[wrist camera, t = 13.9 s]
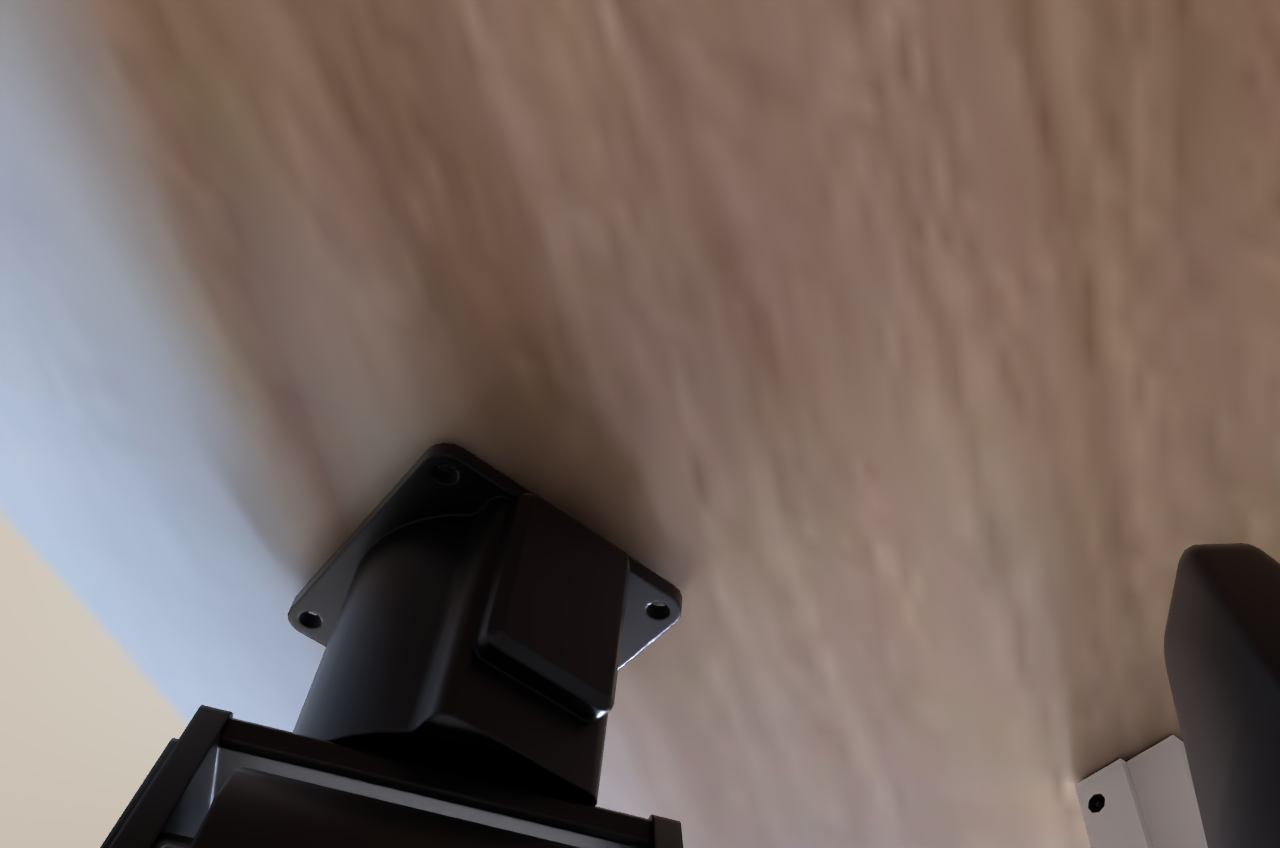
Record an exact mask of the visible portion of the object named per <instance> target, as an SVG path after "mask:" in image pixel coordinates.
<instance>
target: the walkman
mask: <svg viewBox="0 0 1280 848" xmlns="http://www.w3.org/2000/svg"><path fill="white" fill-rule="evenodd" d="M1075 787H1076V791H1077V795H1078V799H1079V802H1080V806H1081V810H1082V814H1083V817H1084V821H1085V825H1086V829H1087V833H1088V836H1089V840H1090V844H1091V848H1208V846H1207V842H1206V838H1205V833H1204V829H1203V825H1202V820H1201V816H1200V812H1199V807H1198V803H1197V799H1196V794H1195V790H1194V786H1193V781H1192V777H1191V773H1190V768H1189V764H1188V760H1187V755H1186V751H1185V747H1184V742H1183V741H1181V740H1180V739H1178V738H1177V737H1175V736H1174V735H1171V736H1170V737H1168V738H1166V739H1165V740H1163V741H1161V742H1159V743H1158V744H1156V745H1154V746H1153V747H1151V748H1149V749H1147V750H1146V751H1144V752H1142V753H1141V754H1139V755H1137V756H1135V757H1134V758H1132V759H1130V760H1129V761H1127V762H1125V761H1124V760H1122V759H1121V758H1120V759H1118V760H1117V761H1115V762H1113V763H1111V764H1110V765H1108V766H1106V767H1105V768H1103V769H1101V770H1099V771H1098V772H1096V773H1094V774H1093V775H1091V776H1089V777H1087V778H1086V779H1084V780H1082V781H1081V782H1079V783H1077V784H1076V785H1075Z"/></svg>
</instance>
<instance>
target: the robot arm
mask: <svg viewBox="0 0 1280 848" xmlns="http://www.w3.org/2000/svg"><path fill="white" fill-rule="evenodd" d="M438 465H448V466H451V467H453V468H454V469H455V470H456V472H449V473H448V472H446V471H443V470H441V469H440V468H439V467H438ZM654 602H661V603H663V604H666V605H665V606H655V605H652V603H654ZM681 607H682V596H681V593H680V591H679V590H678V589H677V588H676V587H675V586H674V585H673V584H671V583H669V582H668V581H666V580H665V579H663V578H662V577H660V576H659V575H657V574H656V573H654V572H653V571H651V570H650V569H648V568H646V567H645V566H643V565H642V564H640V563H639V562H637V561H636V560H634V559H633V558H631V557H630V556H628V555H627V554H626V553H625V552H623V551H622V550H620V549H619V548H617V547H616V546H614V545H612V544H611V543H609V542H608V541H606V540H605V539H603V538H602V537H600V536H599V535H597V534H596V533H594V532H593V531H591V530H589V529H588V528H586V527H585V526H583V525H582V524H580V523H579V522H577V521H576V520H574V519H573V518H571V517H570V516H568V515H566V514H565V513H563V512H562V511H560V510H559V509H557V508H556V507H554V506H553V505H551V504H550V503H548V502H546V501H545V500H543V499H542V498H540V497H539V496H537V495H534V494H533V493H531V492H530V491H528V490H527V489H525V488H524V487H522V486H521V485H519V484H518V483H516V482H514V481H513V480H511V479H510V478H508V477H507V476H505V475H504V474H502V473H501V472H499V471H498V470H496V469H494V468H493V467H491V466H490V465H488V464H487V463H485V462H484V461H482V460H481V459H479V458H478V457H476V456H475V455H473V454H471V453H470V452H468V451H467V450H465V449H464V448H462V447H460V446H458V445H455V444H451V443H440V444H436V445H434V446H432V447H431V448H430V449H428V450H427V451H426V453H425V454H424V455H423V456H422V457H421V458H420V459H419V460H418V461H417V463H416V464H415V465H414V466H413V467H412V468H411V469H410V470H409V471H408V473H407V474H406V475H405V476H404V477H403V478H402V479H401V480H400V481H399V483H398V484H397V485H396V486H395V487H394V488H393V489H392V490H391V491H390V493H389V494H388V495H387V496H386V497H385V498H384V499H383V500H382V501H381V503H380V504H379V505H378V506H377V507H376V508H375V509H374V510H373V511H372V513H371V514H370V515H369V516H368V517H367V518H366V519H365V520H364V521H363V522H362V524H361V525H360V526H359V527H358V528H357V529H356V530H355V531H354V532H353V534H352V535H351V536H350V537H349V538H348V539H347V540H346V541H345V542H344V544H343V545H342V546H341V547H340V548H339V549H338V550H337V551H336V552H335V554H334V555H333V556H332V557H331V558H330V559H329V560H328V561H327V562H326V564H325V565H324V566H323V567H322V568H321V569H320V570H319V571H318V572H317V574H316V575H315V576H314V577H313V578H312V579H311V580H310V581H309V582H308V584H307V585H306V586H305V587H304V588H303V589H302V590H301V591H300V592H299V593H298V595H297V596H296V597H295V599H294V601H293V604H292V606H291V608H290V610H289V613H288V620H289V622H290V623H291V625H292V627H294V628H295V629H296V630H298V631H299V632H301V633H302V634H304V635H306V636H308V637H309V638H311V639H313V640H315V641H317V642H318V643H320V644H322V645H324V646H325V647H326V649H325V652H324V654H323V657H322V659H321V662H320V665H319V667H318V670H317V672H316V675H315V677H314V680H313V682H312V685H311V687H310V690H309V693H308V695H307V698H306V700H305V703H304V705H303V708H302V710H301V713H300V715H299V718H298V721H297V723H296V726H295V728H294V731H293V733H292V732H288V731H284V730H279V729H275V728H271V727H267V726H263V725H259V724H255V723H251V722H247V721H242V720H238V719H234V718H232V717H233V713H232V712H229V711H225V710H220V709H216V708H212V707H208V706H204V705H201V706H200V708H199V709H198V711H197V712H196V714H195V715H194V717H193V718H192V720H191V721H190V723H189V724H188V726H187V728H186V729H185V731H184V732H183V734H182V735H181V737H180V739H175V738H172V740H171V741H170V742H169V744H168V745H167V747H166V748H165V750H164V751H163V753H162V754H161V756H160V758H159V759H158V760H157V762H156V763H155V765H154V766H153V768H152V769H151V771H150V773H149V774H148V776H147V777H146V779H145V780H144V782H143V784H142V785H141V786H140V788H139V789H138V791H137V792H136V794H135V795H134V797H133V799H132V800H131V802H130V803H129V805H128V806H127V808H126V809H125V811H124V812H123V814H122V815H121V817H120V818H119V820H118V821H117V823H116V825H115V826H114V827H113V829H112V831H111V832H110V834H109V835H108V837H107V838H106V840H105V841H104V843H103V844H102V846H101V847H100V848H683V841H682V831H681V823H680V821H676V820H672V819H668V818H663V817H659V816H655V815H651V816H650V817H649V819H645V818H641V817H637V816H633V815H629V814H625V813H621V812H617V811H612V810H608V809H604V808H600V807H596V806H595V805H596V804H597V798H598V790H599V782H600V774H601V766H602V757H603V749H604V741H605V733H606V725H607V717H608V712H609V711H610V710H611V709H612V707H613V705H614V698H615V690H616V681H617V673H618V670H619V669H620V668H621V667H622V666H624V665H625V664H626V663H627V662H628V661H630V660H631V659H632V658H633V657H635V656H636V655H637V654H638V653H639V652H641V651H642V650H643V649H644V648H645V647H647V646H648V645H649V644H650V643H652V642H653V641H654V640H655V639H656V638H658V637H659V636H660V635H661V634H663V633H664V632H665V631H666V630H667V629H669V628H670V627H671V626H672V625H673V624H675V623H676V622H677V620H678V619H679V618H680V616H681ZM309 612H312V613H315V614H317V615H313V614H310V613H309ZM1164 654H1165V663H1166V668H1167V673H1168V678H1169V682H1170V686H1171V691H1172V695H1173V699H1174V704H1175V708H1176V712H1177V717H1178V721H1179V725H1180V730H1181V734H1182V738H1183V742H1184V747H1185V751H1186V755H1187V760H1188V764H1189V768H1190V773H1191V777H1192V781H1193V786H1194V790H1195V794H1196V799H1197V803H1198V807H1199V812H1200V816H1201V820H1202V825H1203V829H1204V833H1205V838H1206V842H1207V846H1208V848H1280V563H1278V562H1277V561H1276V560H1274V559H1273V558H1272V557H1270V556H1269V555H1268V554H1266V553H1265V552H1264V551H1262V550H1260V549H1259V548H1257V547H1255V546H1252V545H1250V544H1243V543H1236V544H1203V545H1193V546H1191V547H1189V548H1188V549H1186V550H1185V551H1184V553H1183V554H1182V556H1181V558H1180V561H1179V564H1178V569H1177V574H1176V579H1175V584H1174V589H1173V594H1172V599H1171V604H1170V609H1169V614H1168V619H1167V624H1166V629H1165V636H1164Z"/></svg>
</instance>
